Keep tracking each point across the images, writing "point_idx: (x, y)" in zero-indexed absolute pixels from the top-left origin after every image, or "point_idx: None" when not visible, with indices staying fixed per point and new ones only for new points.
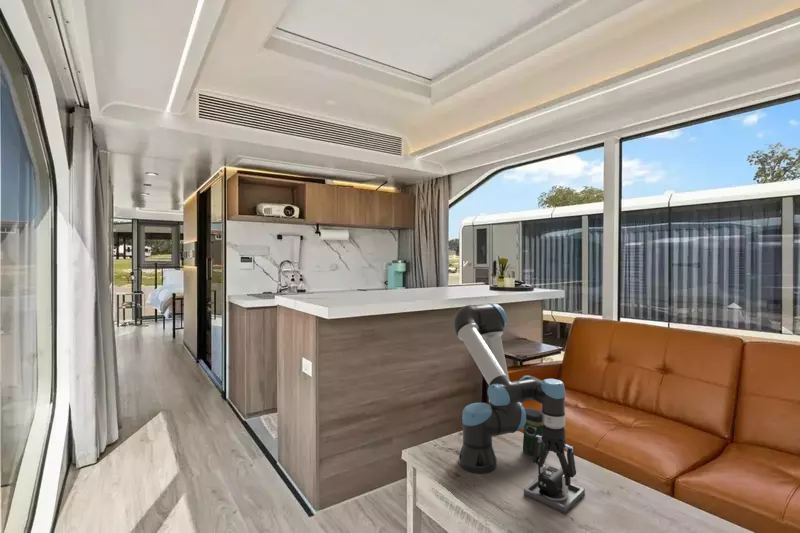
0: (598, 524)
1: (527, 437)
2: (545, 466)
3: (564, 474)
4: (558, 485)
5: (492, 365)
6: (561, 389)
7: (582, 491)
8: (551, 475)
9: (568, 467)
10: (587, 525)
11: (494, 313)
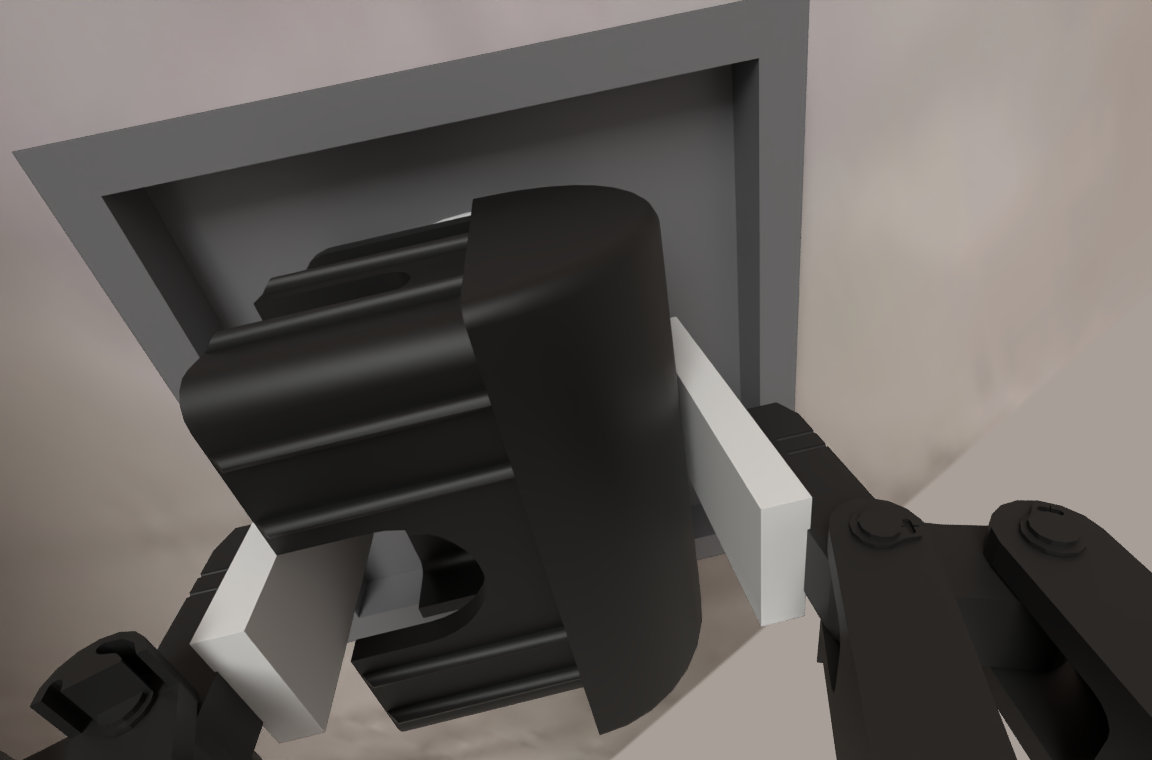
0: (1026, 377)
1: None
2: (260, 629)
3: (828, 654)
4: (696, 585)
5: None
6: None
7: (800, 92)
8: (527, 615)
9: (975, 690)
10: (950, 455)
11: None
